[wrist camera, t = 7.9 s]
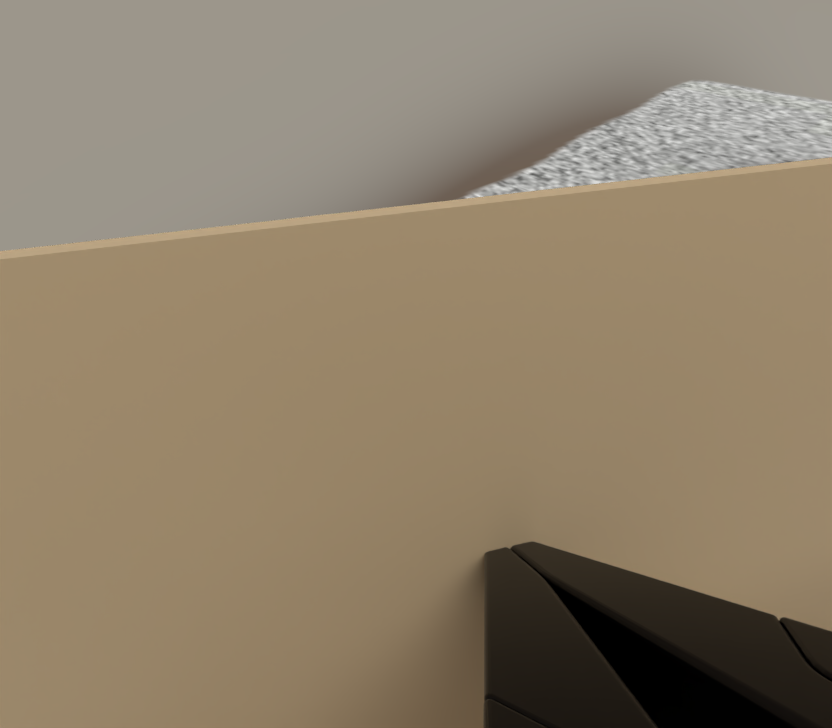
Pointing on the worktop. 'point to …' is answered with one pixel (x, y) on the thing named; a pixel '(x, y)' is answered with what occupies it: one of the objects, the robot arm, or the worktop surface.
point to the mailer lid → (400, 440)
